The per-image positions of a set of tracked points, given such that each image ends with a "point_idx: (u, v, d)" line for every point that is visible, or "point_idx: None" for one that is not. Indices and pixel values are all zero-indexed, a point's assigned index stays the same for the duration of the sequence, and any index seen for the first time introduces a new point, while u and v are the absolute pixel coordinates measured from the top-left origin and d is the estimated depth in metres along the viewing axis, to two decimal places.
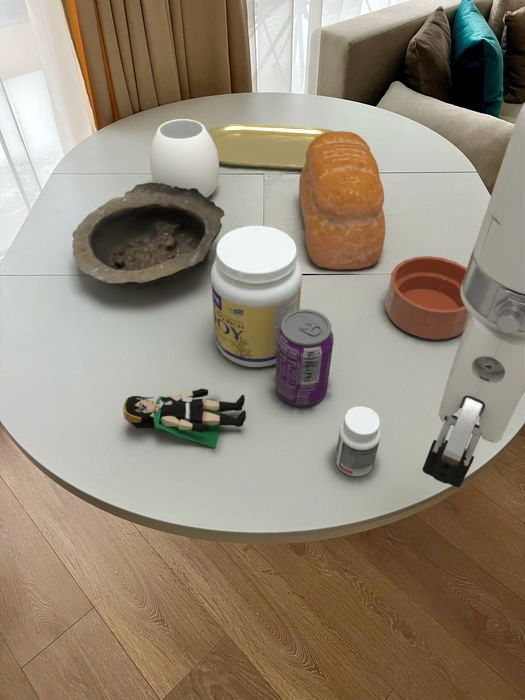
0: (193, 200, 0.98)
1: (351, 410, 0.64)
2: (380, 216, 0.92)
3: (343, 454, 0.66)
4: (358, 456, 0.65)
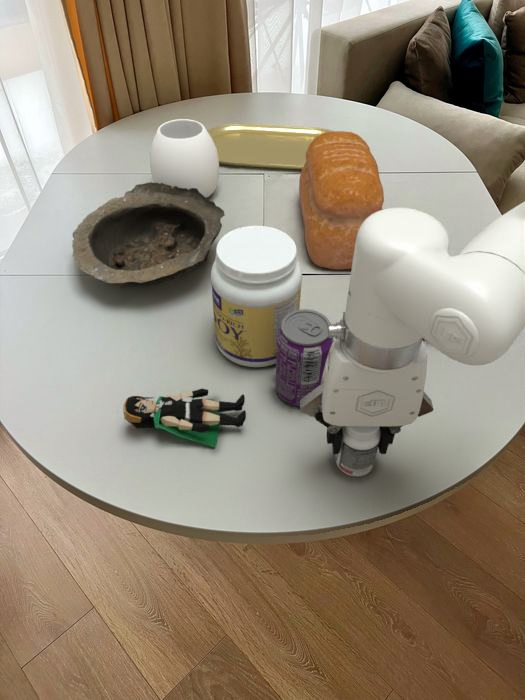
0: (193, 200, 0.98)
1: None
2: None
3: (343, 454, 0.66)
4: (358, 456, 0.65)
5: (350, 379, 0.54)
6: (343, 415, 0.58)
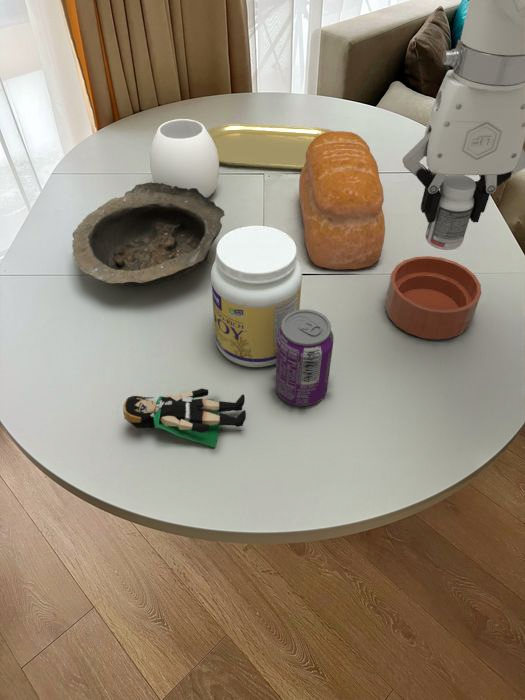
0: (193, 200, 0.98)
1: (447, 176, 0.68)
2: (380, 216, 0.92)
3: (438, 222, 0.70)
4: (454, 221, 0.69)
5: (463, 107, 0.58)
6: (449, 158, 0.62)
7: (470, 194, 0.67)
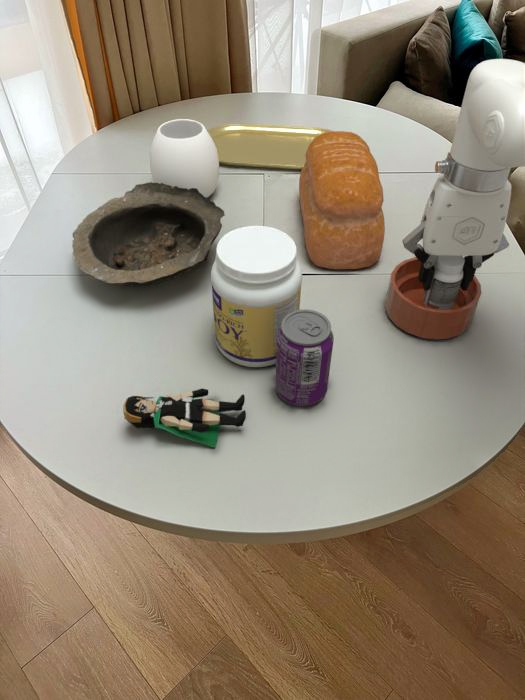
0: (193, 200, 0.98)
1: None
2: (379, 216, 0.92)
3: (432, 290, 0.82)
4: (446, 290, 0.81)
5: (452, 206, 0.71)
6: (441, 243, 0.75)
7: (459, 269, 0.79)
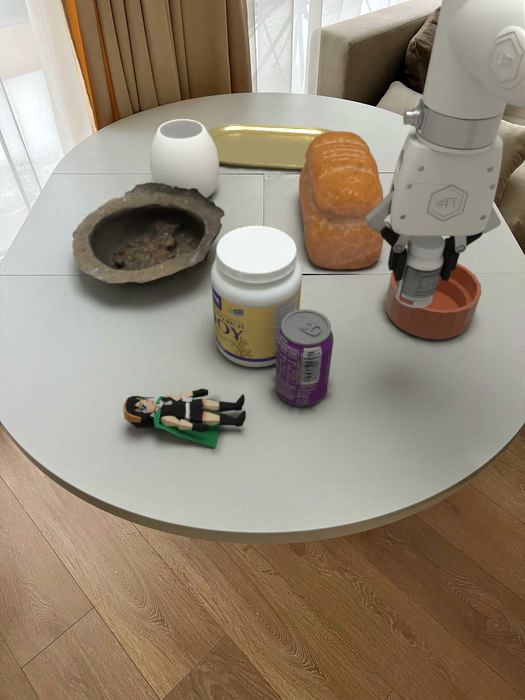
0: (193, 200, 0.98)
1: None
2: None
3: (405, 280, 0.66)
4: (422, 280, 0.65)
5: (425, 170, 0.54)
6: (413, 220, 0.58)
7: (438, 253, 0.63)
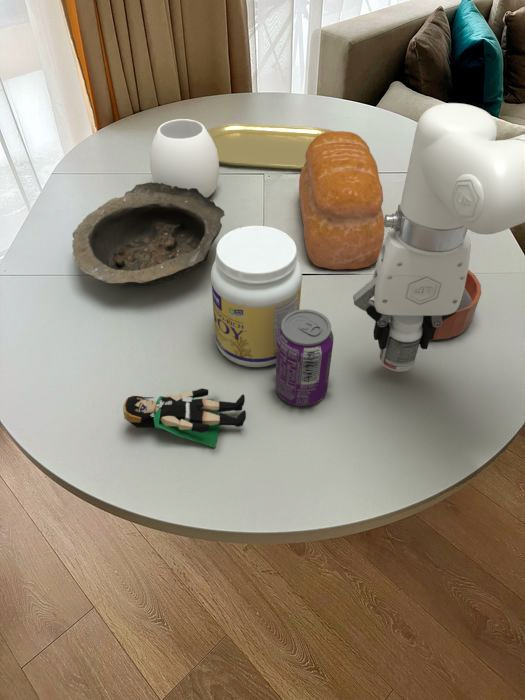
0: (193, 200, 0.98)
1: None
2: (379, 216, 0.92)
3: (389, 349, 0.74)
4: (403, 349, 0.73)
5: (403, 265, 0.62)
6: (394, 303, 0.66)
7: (417, 327, 0.71)
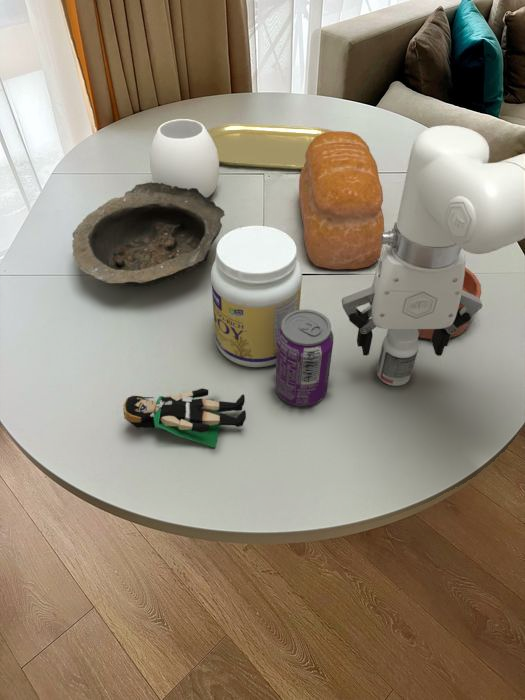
0: (193, 200, 0.98)
1: None
2: (379, 216, 0.92)
3: (385, 364, 0.76)
4: (399, 364, 0.75)
5: (400, 281, 0.64)
6: (391, 317, 0.68)
7: (413, 344, 0.73)
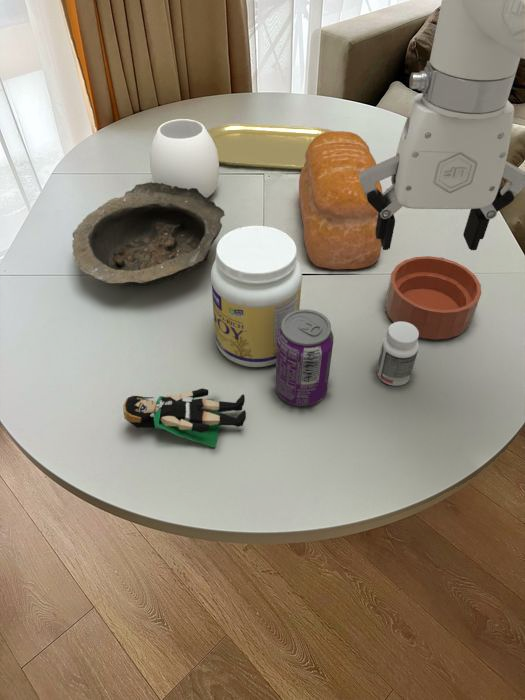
0: (193, 200, 0.98)
1: (393, 324, 0.74)
2: None
3: (385, 364, 0.76)
4: (399, 364, 0.75)
5: (432, 136, 0.52)
6: (419, 191, 0.56)
7: (413, 344, 0.73)
